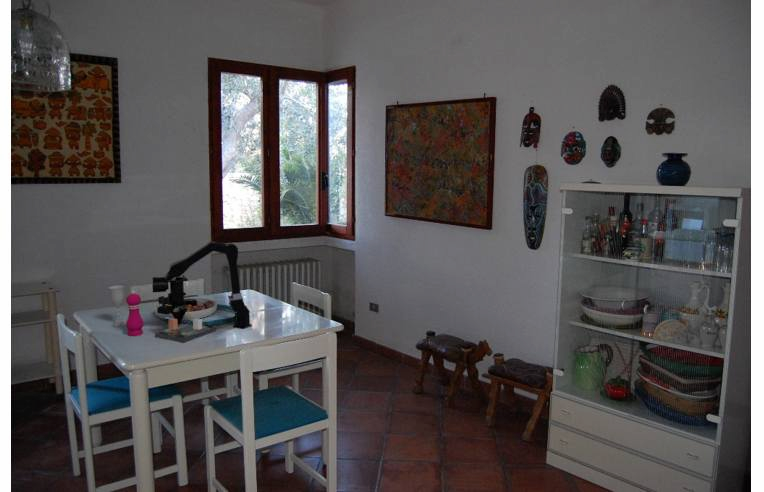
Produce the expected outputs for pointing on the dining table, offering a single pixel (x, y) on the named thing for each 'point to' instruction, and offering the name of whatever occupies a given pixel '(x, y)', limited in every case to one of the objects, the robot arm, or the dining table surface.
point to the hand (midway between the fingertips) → (178, 324)
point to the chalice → (117, 301)
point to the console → (185, 332)
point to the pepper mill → (134, 315)
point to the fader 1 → (173, 323)
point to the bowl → (193, 309)
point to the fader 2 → (197, 323)
